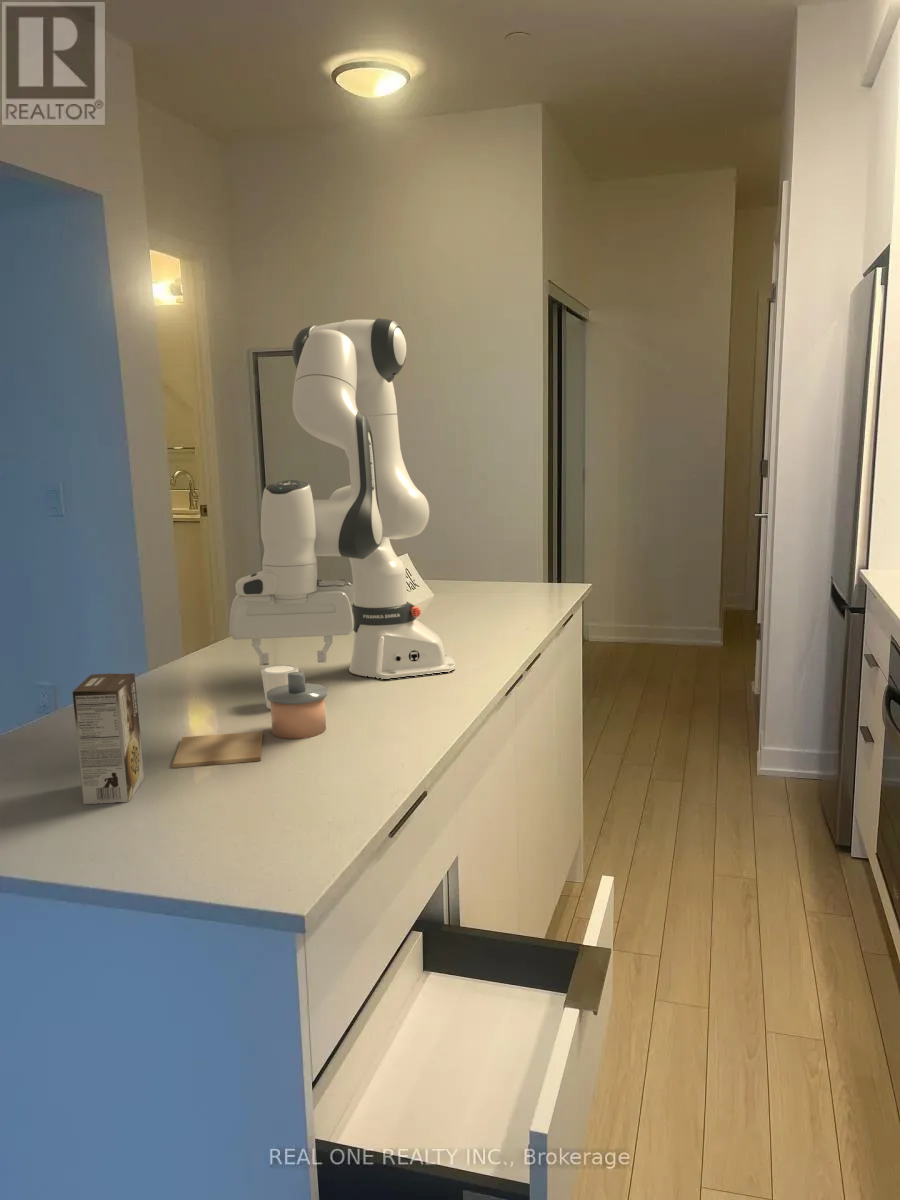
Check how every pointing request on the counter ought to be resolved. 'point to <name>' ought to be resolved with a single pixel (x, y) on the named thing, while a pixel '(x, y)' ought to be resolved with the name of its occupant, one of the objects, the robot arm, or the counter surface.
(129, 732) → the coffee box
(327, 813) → the counter surface
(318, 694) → the lid
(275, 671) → the white cup
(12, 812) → the counter surface
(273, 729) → the canister
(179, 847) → the counter surface
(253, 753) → the mat
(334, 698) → the counter surface
